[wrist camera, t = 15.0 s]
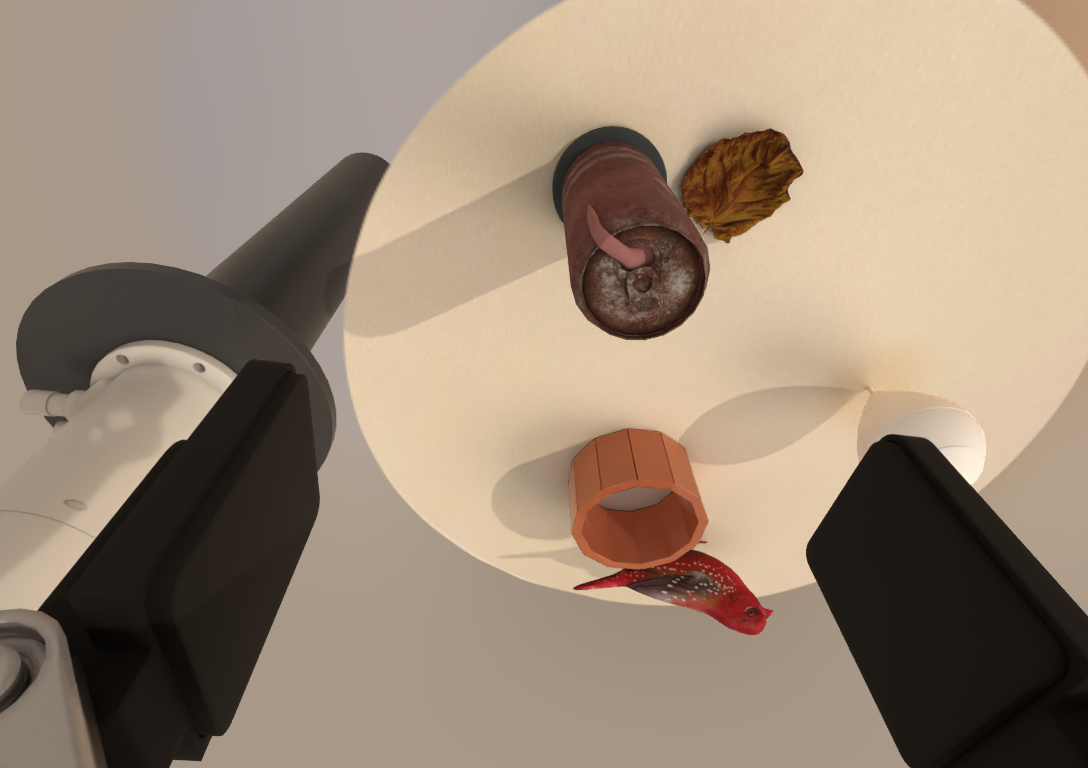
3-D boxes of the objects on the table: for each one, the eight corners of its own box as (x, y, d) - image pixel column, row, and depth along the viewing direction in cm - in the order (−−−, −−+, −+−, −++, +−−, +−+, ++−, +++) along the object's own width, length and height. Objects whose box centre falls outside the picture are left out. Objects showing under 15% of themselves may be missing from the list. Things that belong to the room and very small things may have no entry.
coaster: (545, 234, 37) (545, 237, 37) (561, 118, 33) (562, 119, 33) (650, 247, 38) (651, 250, 38) (679, 135, 34) (680, 137, 33)
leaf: (663, 174, 35) (667, 185, 34) (767, 101, 32) (775, 111, 31) (710, 246, 39) (715, 259, 38) (809, 187, 36) (817, 199, 34)
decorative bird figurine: (742, 549, 56) (776, 644, 48) (568, 543, 56) (573, 638, 48) (750, 530, 55) (787, 625, 47) (571, 524, 54) (576, 619, 46)
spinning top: (902, 422, 47) (997, 537, 37) (810, 427, 47) (881, 541, 37) (934, 345, 43) (1052, 451, 33) (832, 350, 43) (920, 457, 33)
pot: (561, 510, 53) (563, 564, 48) (581, 423, 47) (586, 474, 42) (671, 520, 54) (685, 573, 49) (705, 436, 48) (724, 487, 43)
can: (601, 114, 33) (635, 180, 21) (677, 182, 35) (745, 275, 23) (538, 196, 35) (538, 295, 24) (612, 255, 38) (645, 370, 26)
